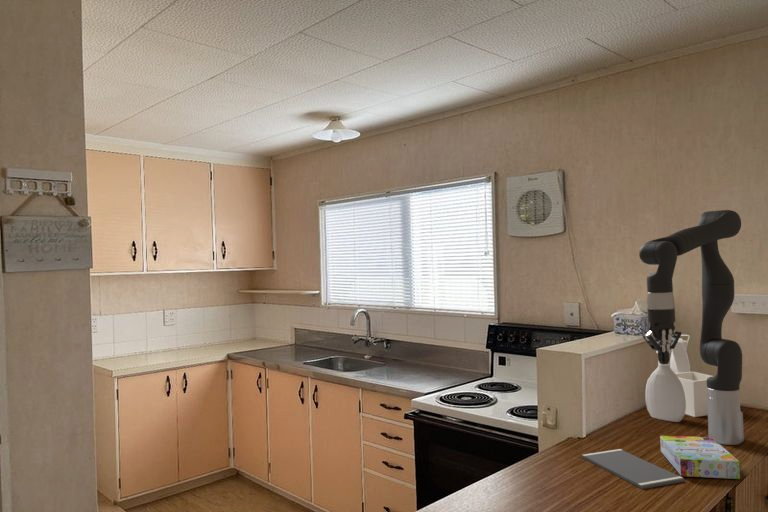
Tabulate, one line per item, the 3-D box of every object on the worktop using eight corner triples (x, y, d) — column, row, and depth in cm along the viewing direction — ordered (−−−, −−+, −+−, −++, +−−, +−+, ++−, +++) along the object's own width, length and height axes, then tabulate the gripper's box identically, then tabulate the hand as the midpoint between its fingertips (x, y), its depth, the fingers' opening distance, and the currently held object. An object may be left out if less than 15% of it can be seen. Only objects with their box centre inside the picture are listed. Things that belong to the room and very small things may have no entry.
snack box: (680, 478, 157) (741, 480, 154) (679, 458, 157) (739, 459, 154) (660, 452, 178) (713, 453, 175) (659, 434, 178) (712, 435, 175)
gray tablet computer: (619, 451, 179) (619, 448, 179) (684, 481, 155) (684, 478, 155) (581, 457, 175) (581, 454, 175) (642, 489, 151) (642, 485, 151)
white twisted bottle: (687, 400, 237) (685, 333, 237) (695, 405, 229) (693, 336, 229) (668, 400, 238) (665, 333, 238) (675, 405, 230) (673, 336, 230)
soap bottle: (692, 422, 207) (689, 348, 208) (682, 426, 202) (679, 351, 202) (652, 414, 219) (650, 344, 219) (642, 418, 214) (639, 346, 214)
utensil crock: (694, 406, 228) (693, 371, 228) (724, 415, 214) (723, 378, 215) (665, 410, 224) (664, 374, 224) (694, 419, 210) (693, 381, 211)
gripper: (668, 304, 178) (671, 359, 178) (634, 307, 174) (637, 364, 174) (688, 306, 171) (691, 363, 171) (652, 309, 167) (655, 368, 167)
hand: (663, 363), depth 173 cm, fingers closed
